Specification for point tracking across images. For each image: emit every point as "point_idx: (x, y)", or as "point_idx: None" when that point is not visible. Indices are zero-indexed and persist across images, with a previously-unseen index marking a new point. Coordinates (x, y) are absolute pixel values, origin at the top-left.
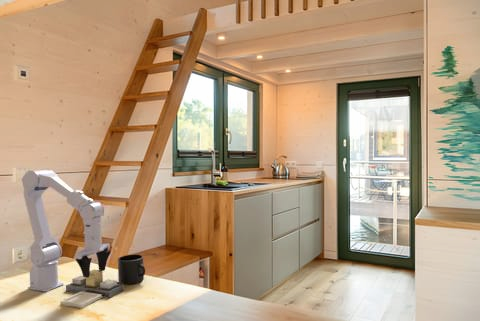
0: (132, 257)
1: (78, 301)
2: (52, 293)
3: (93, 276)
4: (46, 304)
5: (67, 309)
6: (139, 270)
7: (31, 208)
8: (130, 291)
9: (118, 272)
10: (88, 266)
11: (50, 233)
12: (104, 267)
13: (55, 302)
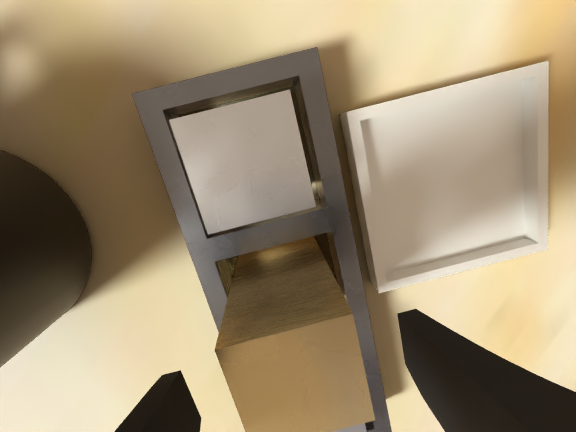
0: None
1: (471, 177)
2: (434, 421)
3: (346, 305)
4: (549, 306)
5: (563, 135)
6: None
7: None
8: (123, 29)
9: (26, 327)
10: (549, 402)
11: None
12: (155, 400)
13: (513, 295)
